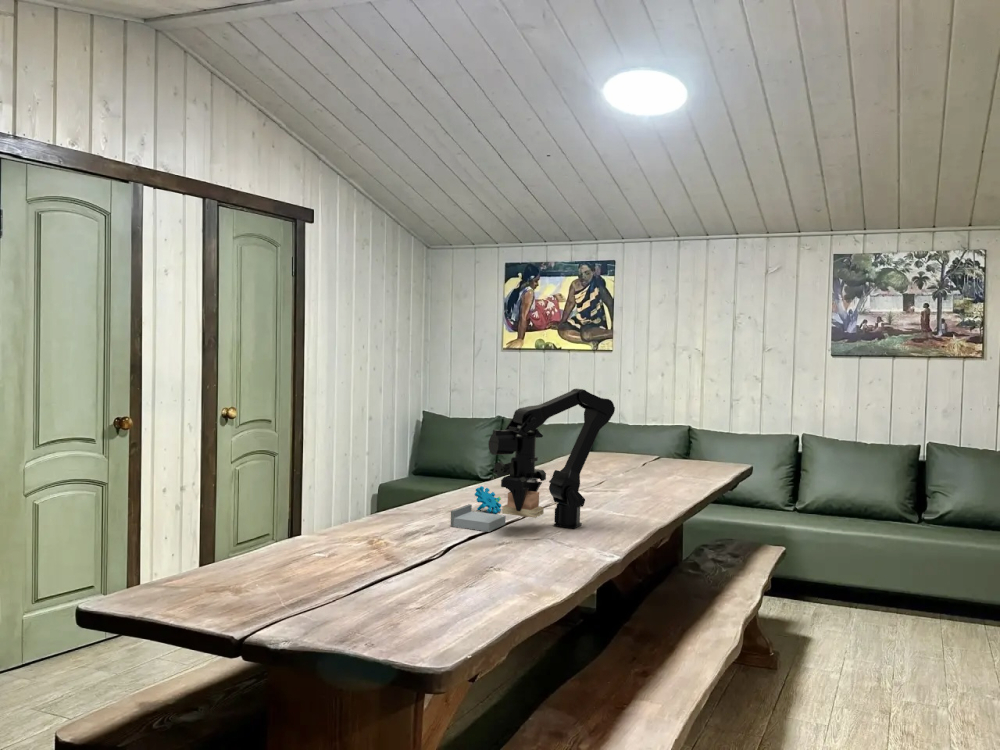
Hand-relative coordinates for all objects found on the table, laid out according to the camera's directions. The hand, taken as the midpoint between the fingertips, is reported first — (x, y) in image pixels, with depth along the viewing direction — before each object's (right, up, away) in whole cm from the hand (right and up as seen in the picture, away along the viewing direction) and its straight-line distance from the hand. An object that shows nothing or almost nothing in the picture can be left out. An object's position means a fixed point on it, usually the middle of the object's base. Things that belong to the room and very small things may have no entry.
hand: (523, 509), depth 223 cm
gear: (-10, -5, +23) cm, 25 cm away
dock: (-12, -5, +4) cm, 14 cm away
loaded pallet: (0, -1, 0) cm, 1 cm away
